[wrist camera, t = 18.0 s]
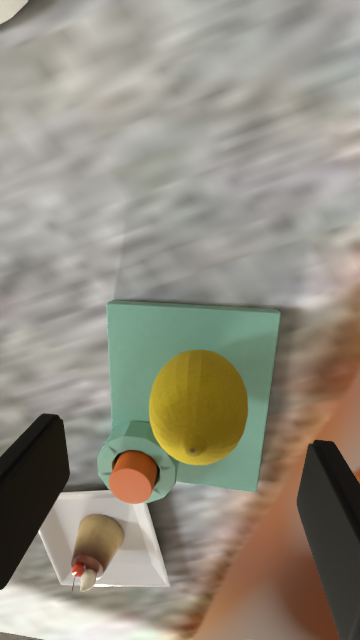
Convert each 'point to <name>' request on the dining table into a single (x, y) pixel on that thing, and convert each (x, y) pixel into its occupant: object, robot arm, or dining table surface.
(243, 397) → the lemon
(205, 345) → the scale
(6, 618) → the dining table surface
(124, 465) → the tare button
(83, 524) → the dessert
